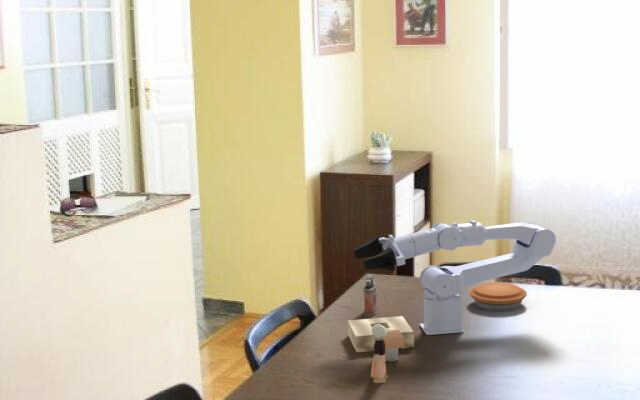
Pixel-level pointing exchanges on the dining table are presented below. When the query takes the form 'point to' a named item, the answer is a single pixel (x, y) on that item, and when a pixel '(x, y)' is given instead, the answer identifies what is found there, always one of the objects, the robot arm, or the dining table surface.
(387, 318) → the holder
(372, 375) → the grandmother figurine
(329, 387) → the dining table surface
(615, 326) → the dining table surface
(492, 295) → the pie
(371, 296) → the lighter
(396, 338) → the orange brown block
